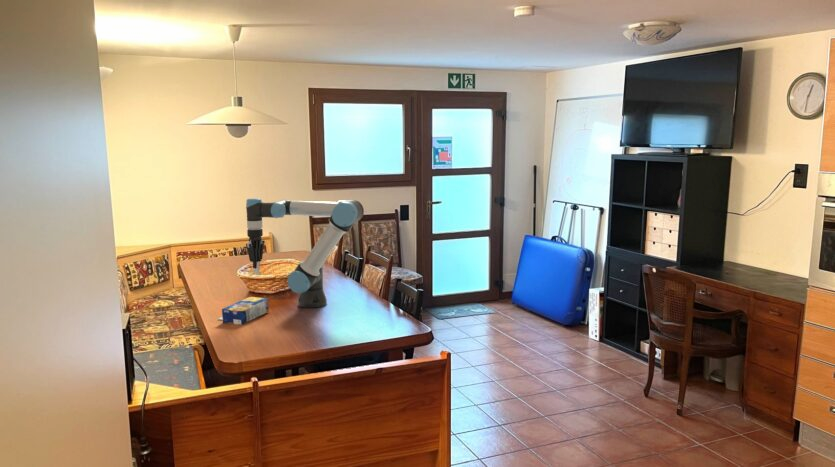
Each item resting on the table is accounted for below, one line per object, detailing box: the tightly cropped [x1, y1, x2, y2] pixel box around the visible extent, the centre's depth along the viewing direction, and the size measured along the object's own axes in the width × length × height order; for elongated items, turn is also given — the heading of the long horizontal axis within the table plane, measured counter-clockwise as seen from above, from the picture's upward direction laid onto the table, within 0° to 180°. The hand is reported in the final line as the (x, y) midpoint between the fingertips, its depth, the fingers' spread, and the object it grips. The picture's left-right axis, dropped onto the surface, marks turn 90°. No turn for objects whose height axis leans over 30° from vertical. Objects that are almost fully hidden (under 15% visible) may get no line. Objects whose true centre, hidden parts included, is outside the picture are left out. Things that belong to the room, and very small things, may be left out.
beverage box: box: [221, 296, 270, 326], centre depth 289 cm, size 7×11×22 cm
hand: (256, 274), depth 302 cm, fingers closed
